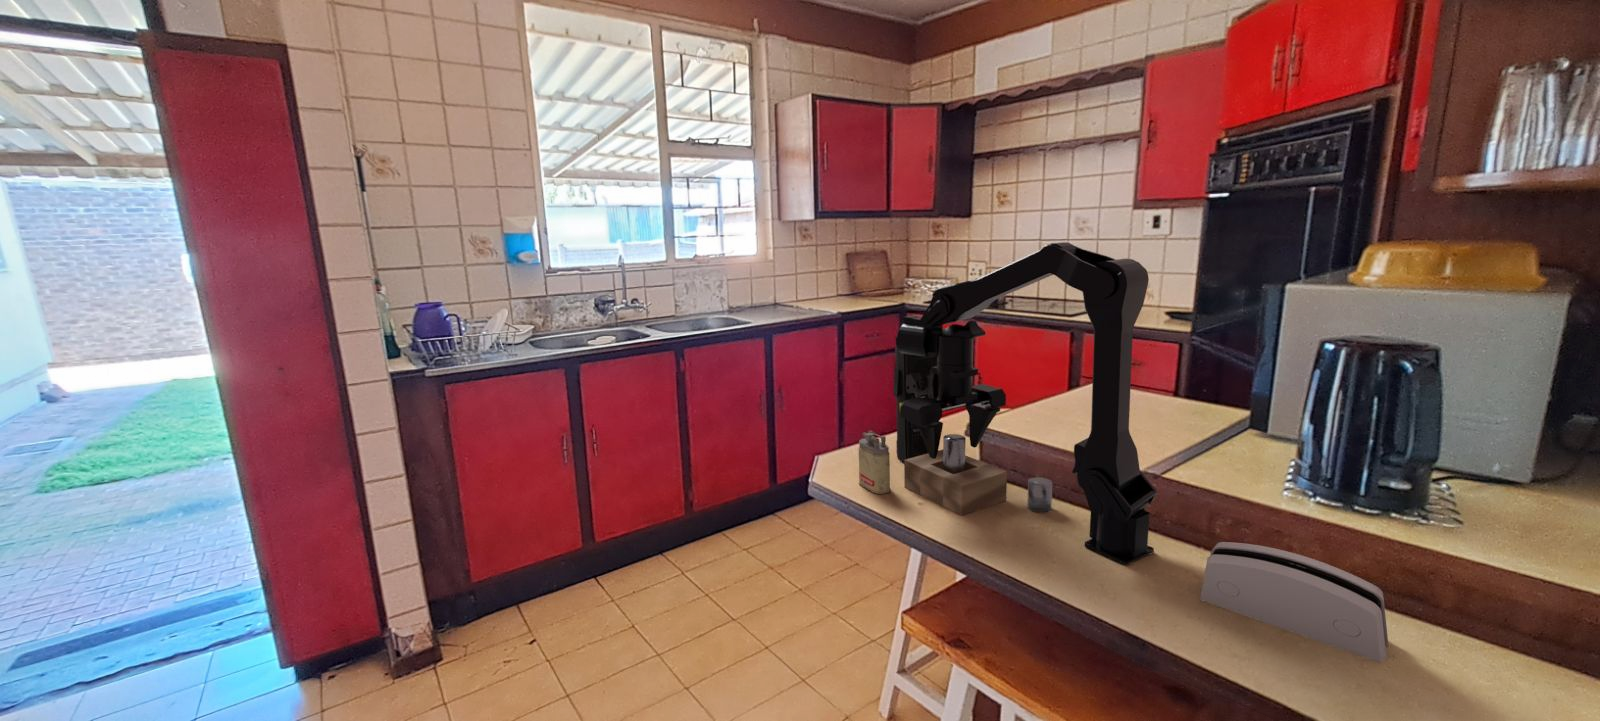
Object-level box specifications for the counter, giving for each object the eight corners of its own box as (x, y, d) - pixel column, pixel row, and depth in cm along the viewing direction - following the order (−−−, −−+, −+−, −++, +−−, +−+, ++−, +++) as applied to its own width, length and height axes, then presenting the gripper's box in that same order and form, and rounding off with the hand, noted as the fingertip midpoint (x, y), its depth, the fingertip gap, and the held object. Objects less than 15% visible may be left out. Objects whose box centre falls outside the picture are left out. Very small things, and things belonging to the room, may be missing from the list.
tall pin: (969, 494, 108) (970, 438, 106) (953, 499, 106) (953, 442, 104) (954, 487, 111) (954, 432, 109) (938, 492, 109) (938, 436, 107)
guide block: (1006, 500, 105) (1007, 471, 104) (961, 515, 100) (961, 485, 99) (947, 474, 117) (947, 448, 116) (904, 486, 112) (904, 459, 111)
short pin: (1056, 509, 101) (1057, 482, 100) (1040, 515, 100) (1042, 488, 99) (1037, 501, 104) (1038, 475, 103) (1022, 506, 103) (1023, 480, 102)
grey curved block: (1390, 641, 68) (1400, 573, 63) (1382, 675, 65) (1393, 606, 61) (1210, 582, 80) (1209, 521, 76) (1197, 608, 77) (1195, 547, 73)
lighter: (855, 482, 115) (853, 429, 113) (872, 478, 117) (871, 426, 115) (877, 496, 109) (877, 440, 107) (895, 491, 111) (895, 436, 109)
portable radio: (902, 467, 121) (901, 338, 116) (890, 457, 127) (889, 333, 122) (940, 462, 123) (941, 335, 118) (926, 452, 129) (926, 330, 123)
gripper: (961, 347, 116) (960, 429, 119) (878, 361, 106) (880, 450, 110) (1009, 357, 106) (1006, 446, 109) (923, 373, 97) (923, 470, 100)
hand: (953, 452), depth 107 cm, fingers open, 9 cm apart
